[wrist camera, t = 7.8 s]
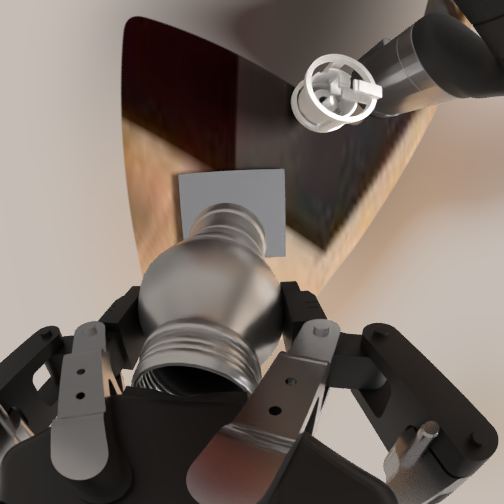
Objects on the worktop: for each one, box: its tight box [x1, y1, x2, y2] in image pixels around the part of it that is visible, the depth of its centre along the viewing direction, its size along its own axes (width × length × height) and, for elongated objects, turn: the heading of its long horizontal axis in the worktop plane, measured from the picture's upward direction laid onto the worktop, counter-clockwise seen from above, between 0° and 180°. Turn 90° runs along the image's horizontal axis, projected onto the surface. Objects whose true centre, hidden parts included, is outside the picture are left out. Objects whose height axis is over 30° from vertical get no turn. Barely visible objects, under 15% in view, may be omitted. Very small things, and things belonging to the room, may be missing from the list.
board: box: [178, 169, 286, 257], centre depth 37 cm, size 12×14×1 cm
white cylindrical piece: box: [291, 54, 382, 133], centre depth 26 cm, size 7×7×15 cm
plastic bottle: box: [131, 203, 284, 399], centre depth 16 cm, size 6×7×20 cm
